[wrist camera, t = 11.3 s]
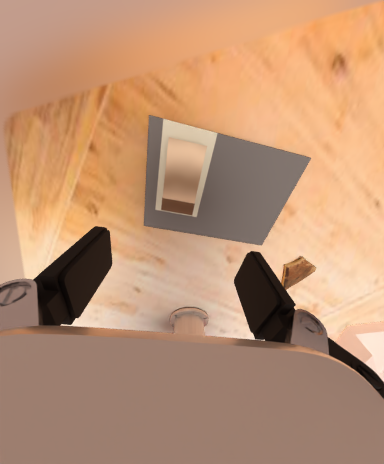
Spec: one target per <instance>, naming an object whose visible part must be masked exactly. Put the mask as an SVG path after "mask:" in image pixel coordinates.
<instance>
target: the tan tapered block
mask: <svg viewBox="0 0 384 464" xmlns="http://www.w3.org/2000/svg"><path fill="white" fill-rule="evenodd" d="M206 149H207V146H205V145H200V144H196V143H192V142H188V141H183V140H179V139H175V138H171V137H169V139H168V149H167V159H166V169H165V179H164V189H163V197H162V205H161V210H163V211H169V212H175V213H181V214H187V215H192V214H193V210H194V205H195V199H196V194H197V190H198V185H199V181H200V176H201V172H202V167H203V163H204V158H205V153H206Z"/></svg>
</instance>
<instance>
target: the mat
mask: <svg viewBox="0 0 384 464" xmlns="http://www.w3.org/2000/svg"><path fill="white" fill-rule="evenodd" d="M169 137H171V138H175V139H179V140H183V141H188V142H192V143H196V144H200V145H205V146H207V149H206V153H205V158H204V163H203V167H202V172H201V176H200V181H199V185H198V190H197V194H196V199H195V205H194V210H193V214H192V215H187V214H181V213H175V212H169V211H163V210H161V205H162V197H163V189H164V179H165V169H166V159H167V149H168V139H169ZM310 159H311V158H309V157H306V156H302V155H298V154H294V153H291V152H287V151H283V150H279V149H275V148H272V147H268V146H264V145H260V144H257V143H253V142H249V141H245V140H242V139H238V138H234V137H230V136H226V135H223V134H219V133H215V132H212V131H208V130H204V129H200V128H197V127H193V126H189V125H185V124H181V123H178V122H174V121H170V120H166V119H162V118H159V117H155V116H151V115H149V129H148V149H147V170H146V191H145V211H144V226H148V227H154V228H160V229H166V230H172V231H178V232H184V233H190V234H196V235H202V236H208V237H214V238H220V239H226V240H232V241H238V242H244V243H250V244H256V245H262V244H263V242H264V240H265V239H266V237H267V235H268V233H269V232H270V230H271V228H272V226H273V225H274V223H275V221H276V219H277V218H278V216H279V214H280V212H281V210H282V209H283V207H284V205H285V203H286V202H287V200H288V198H289V196H290V195H291V193H292V191H293V189H294V188H295V186H296V184H297V182H298V181H299V179H300V177H301V175H302V174H303V172H304V170H305V168H306V167H307V165H308V163H309V161H310Z"/></svg>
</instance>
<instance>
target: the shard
mask: <svg viewBox="0 0 384 464" xmlns="http://www.w3.org/2000/svg"><path fill="white" fill-rule="evenodd" d="M315 270H316V267H315V266H313V265H312V264H310V263H309V262H308V261H306V260H305V259H304V258H303V257H302V258H300V259H299V260H297V261H294V262H291V263H288V264H285V265H284V275H283V278H282V283H281V284H282V285H283V287H284V288H285V290H286V289H288V288H289V287H291V286H292V285H294V284H296V283H298V282H299V281H301V280H303V279H304V278H306V277H307V276H309V275H310V274H311V273H313V272H314V271H315Z"/></svg>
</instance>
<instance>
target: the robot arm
mask: <svg viewBox="0 0 384 464" xmlns="http://www.w3.org/2000/svg"><path fill="white" fill-rule="evenodd" d="M111 266H112V253H111V241H110V232H109V230H107V228H104V227H98V226H95V227H94V228H92V229H91V230H90V231H89V232H88V233H87V234H85V235H84V236H83V237H82V238H81V239H80V240H78V241H77V242H76V243H75V244H74V245H73V246H71V247H70V248H69V249H68V250H67V251H66V252H64V253H63V254H62V255H61V256H60V257H59V258H58V259H56V260H55V261H54V262H53V263H52V264H51V265H49V266H48V267H47V268H46V269H45V270H44V271H42V272H41V273H40V274H39V275H38V276H37V277H36V278H35V279H34V280H31V279H17V280H12V281H9V282H6V283H3V284H1V285H0V464H384V382H383V381H382V380H381V378H380V377H379V376H378V374H377V373H376V372H375V371H373V370H372V369H371V368H370V367H369V366H367V365H366V364H365V363H364V362H362V361H361V360H359V359H358V358H356V357H355V356H354V355H352V354H351V353H349V352H348V351H347V350H345V349H344V348H342V347H341V346H340V345H338V344H337V343H335V342H334V341H333V340H331V339H330V338H328V337H327V332H326V329H325V327H324V325H323V324H322V323H321V322H320V321H319V320H318V319H317V318H316V317H315V316H314V315H312V314H311V313H309V312H308V311H306V310H302V309H297V310H295V309H294V306H295V305H296V304H295V303H294V301H293V300H292V299H291V297H290V296H289V294H288V293H287V291H286V290H285V288H284V287H283V285H282V284H281V282H280V281H279V280H278V278H277V277H276V275H275V274H274V272H273V271H272V269H271V268H270V266H269V265H268V263H267V262H266V261H265V259H264V258H263V256H262V255H261V253H259V252H254V251H251V252H250V253H247V255H246V257H245V259H244V261H243V263H242V265H241V267H240V269H239V271H238V273H237V275H236V277H235V279H234V284H235V287H236V290H237V293H238V296H239V299H240V302H241V305H242V308H243V311H244V313H245V316H246V319H247V322H248V325H249V328H250V331H251V332H252V333H253V334H254V337H255V339H259V340H249V339H238V338H226V337H214V336H205V332H204V327H205V326H206V325H207V323H208V316H207V314H206V313H205V312H204V311H202V310H200V309H197V308H183V309H179V310H177V311H175V312H174V313H172V315H171V316H170V324H171V325H172V326H173V327H174V333H162V332H149V331H135V330H122V329H108V328H93V327H74V326H60V325H61V324H67V325H71V324H72V323H73V321H74V320H75V318H79V317H80V316H81V314H82V312H83V311H84V309H85V308H86V306H87V305H88V303H89V301H90V300H91V298H92V297H93V295H94V294H95V292H96V290H97V289H98V287H99V286H100V284H101V282H102V281H103V279H104V278H105V276H106V275H107V273H108V271H109V270H110V268H111ZM264 339H265V341H261V340H264Z"/></svg>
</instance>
